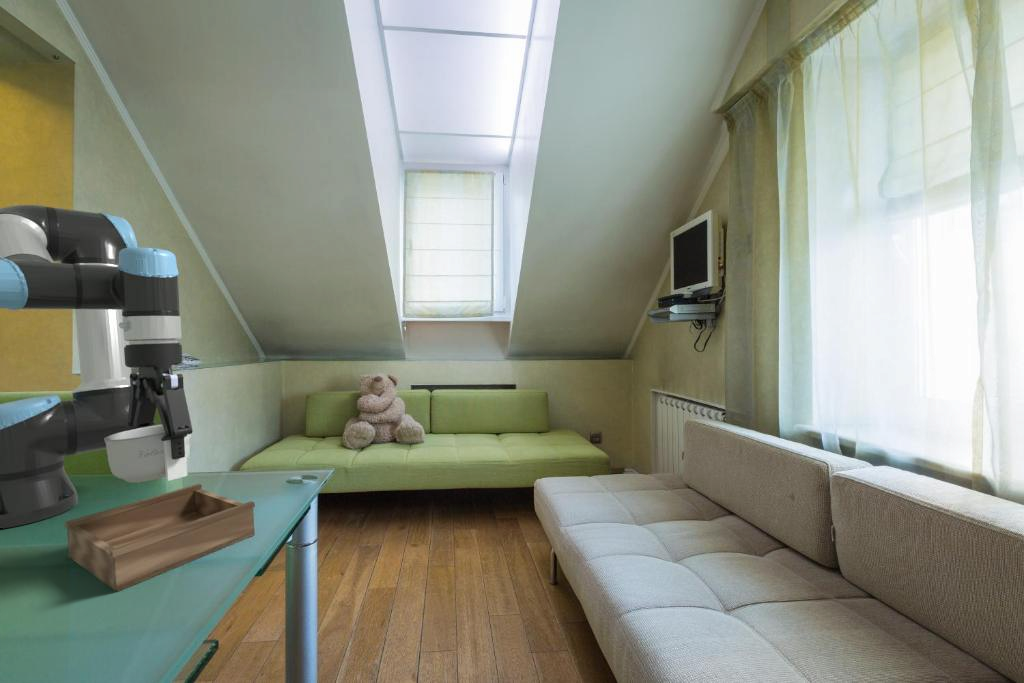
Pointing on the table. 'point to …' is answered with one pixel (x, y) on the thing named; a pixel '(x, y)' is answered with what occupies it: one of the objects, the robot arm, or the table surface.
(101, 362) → the robot arm
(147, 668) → the table surface
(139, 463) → the teacup
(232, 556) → the table surface
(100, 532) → the crate
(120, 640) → the table surface
